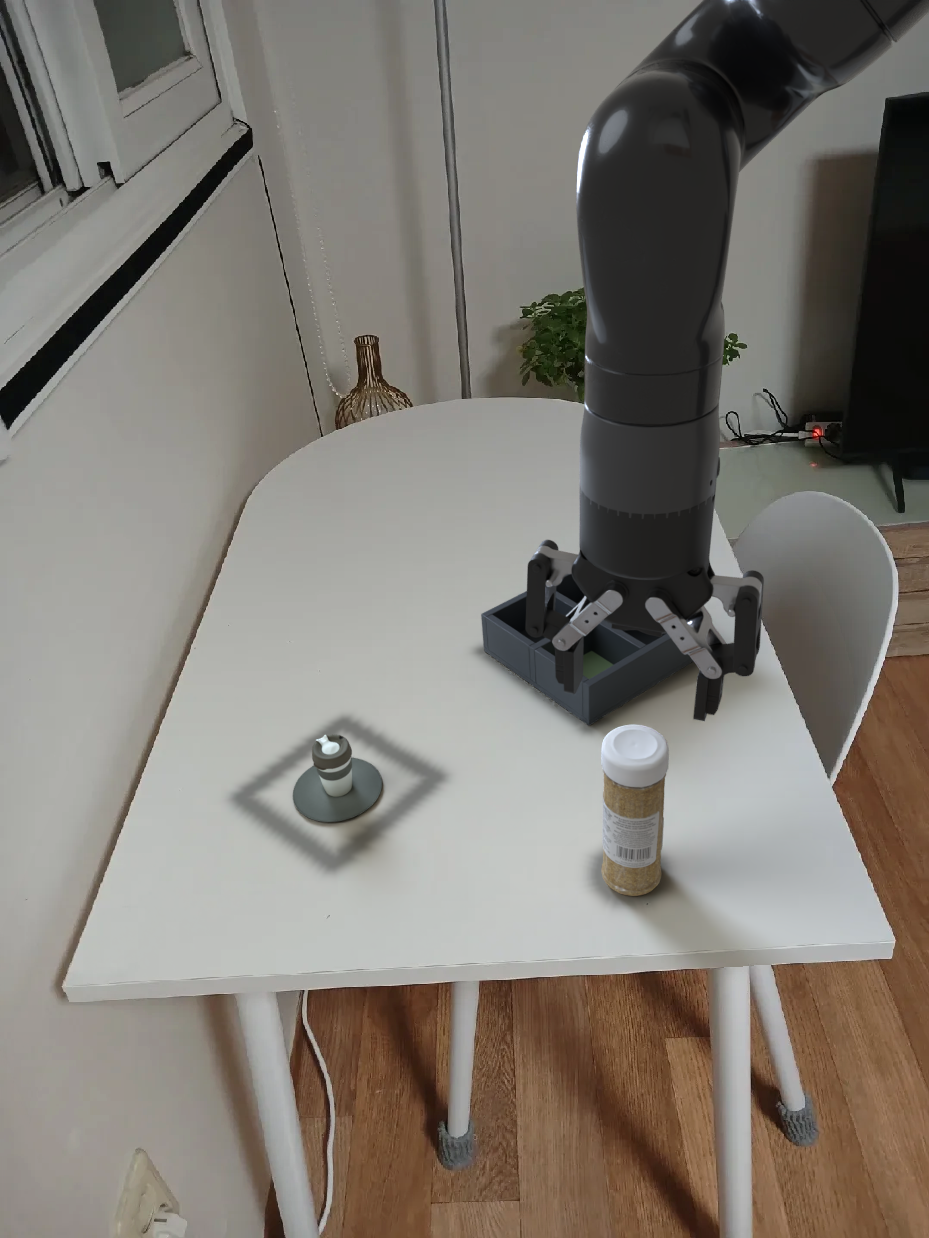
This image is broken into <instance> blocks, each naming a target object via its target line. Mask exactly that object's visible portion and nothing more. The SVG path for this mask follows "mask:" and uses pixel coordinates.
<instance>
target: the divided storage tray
mask: <svg viewBox="0 0 929 1238" xmlns="http://www.w3.org/2000/svg"><path fill="white" fill-rule="evenodd" d="M584 596H585V595H584V593H583V592H582V591H581V589H580V588H579V587H578V585H577V584H576V583H575V581H574V579H573V577H572V574H567V575H565V576H564V578H563V580H562V582H561V583H560V584H559V585H557V586H556V602H555V611H556V612H558V613H560V614H562V615H565V616H566V615H567V614H568V613H569V612H570V611H571V610H572V609H574V608H575V607H576V606H577V605H578V604H579V603H580V602H581V600H582V599H583V598H584ZM526 599H527V590H526V591H524V592H522V593H519V594H518V595H516V596H514V597H512V598H510V599H508V600H505V601H504V602H502V603H500V604H498V605H495V606H494V607H492V608H490V609H488V610H486V611H484V612H482V613H480V617H481V618H480V619H481V620H480V621H481V631H482V643H483V651H484V652H485V653H486V654H488V655H489V656H490V657H491V658H493V659H494V660H496V661H498V662H499V663H500V664H502V665H503V666H505V667H506V668H507V669H509V670H510V671H511V672H513V673H514V674H516V675H517V676H519V677H520V678H522V679H523V680H524V681H525V682H527V683H528V684H530V685H531V686H533V687H534V688H535V689H537V690H538V691H539V692H541V693H542V694H544V695H545V696H546V697H548V698H550V700H552V701H554V702H555V703H557V704H558V705H559V706H560V707H562V708H563V709H565V710H566V711H568V712H569V713H570V714H572V715H573V716H575V717H576V718H577V719H579V720H580V721H582V722H583V723H585V724H586V725H588V726H592V724H594V723H595V722H597V721H599V720H601V719H602V718H604V717H605V716H607V715H608V714H610V713H612V712H614V711H615V710H617V709H619V708H620V707H622V706H623V705H625V704H626V703H628V702H630V701H631V700H633V699H635V698H636V697H638V696H639V695H641V694H643V693H644V692H646V691H648V690H649V689H651V688H652V687H655V686H656V685H657V684H659V683H660V682H663V681H664V680H665V679H666V678H669V677H670V676H672V675H674V674H675V673H676V672H678V671H680V670H681V669H683V668H685V667H686V666H688V665H690V664H691V663H694V661H693V660H692V658H691V657H690V656H689V655H688V654H686V655H685V654H683V653H682V652H681V651H680V649H679V648H678V647H677V645H676V644H675V643H674V641H673V640H672V639H671V637H670V636H669V635H668V633H663V635H662V637H658V636H652V635H648V634H645V633H643V632H640V631H638V630H618V629H613V628H611V627H612V624H609V623H608V622H606V621H605V620H602V621H601V622H600V623H599V624H598V625H597V626H596V627H595V628H594V629H593V630H591V631H590V632H589V633H588V634H587V635H586V636H583V678H582V681H581V683H580V685H579V687H578V689H577V691H576V693H575V694H570V693H565V692H564V684H559V683H558V681H557V679H556V677H555V646H554V645H553V643H552V641H550V640H549V639H547V638H545V637H543V636H540V637H532V636H530V635H529V634H528V633H527V632H526ZM686 622H687V620H686Z"/></svg>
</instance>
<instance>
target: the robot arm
mask: <svg viewBox="0 0 929 1238" xmlns="http://www.w3.org/2000/svg"><path fill="white" fill-rule="evenodd" d="M928 15H929V0H702V1H700V2H699V3H698V5H696V6H695V7H694V9H692V11H690V12H689V13H688V14H687V15H686V16H685V17H684V18H683V19H682V20H681V21H680V22H679V23H678V24H677V25H676V26H675V27H674V28H673V29H672V30H671V31H670V32H669V33H668V34H667V35H666V36H665V38H663V39H662V40H661V41H660V42H659V43H658V44H657V46H655V48H653V50H651V52H649V54H648V55H646V56H645V57H644V59H642V60H641V61H640V62H639V64H638V65H636V67H634V68H633V69H632V70H631V71H630V73H628V75H626V77H625V78H623V79H622V81H620V83H618V85H617V86H615V88H614V89H613V90H612V91H611V92H610V93H608V95H607V96H606V97H605V98H604V99H603V100H602V101H601V103H600V104H599V105H598V107H597V108H596V109H595V110H594V112H593V114H592V115H591V117H590V118H589V121H588V122H587V124H586V127H585V129H584V132H583V135H582V138H581V141H580V146H579V150H578V155H577V163H576V164H577V165H576V179H575V182H576V183H575V190H576V191H575V204H576V205H575V206H576V208H575V209H576V226H577V227H576V229H577V239H578V249H579V257H580V268H581V275H582V285H583V291H584V297H585V303H586V311H587V313H586V327H585V335H584V336H585V339H584V403H583V405H584V406H583V415H582V422H581V427H580V435H579V490H578V491H579V492H578V493H579V499H578V500H579V521H578V522H579V533H578V535H579V538H578V539H579V542H578V544H579V545H578V548H579V552H578V554H577V553H572V552H567V551H562V550H559V545H558V544H557V543H556V542H555V541H553V540H551V539H544V540H543V541H541V543H540V544H539V546H538V547H537V548H536V550H535V552H534V553H533V555H532V556H531V558H530V560H529V561H528V562H527V571H526V575H527V576H526V591H527V599H526V632H527V633H528V634H529V635H530V636H532V637H540V636H543V637H545V638H547V639H549V640H550V641H552V643H553V645H554V646H555V677H556V679H557V681H558V683H559V684H564V692H565V693H570V694H575V693H576V691H577V689H578V687H579V685H580V683H581V681H582V678H583V636H586V635H587V634H588V633H589V632H590V631H591V630H593V629H594V628H595V627H596V626H597V625H598V624H599V623H600V622H601V621H602V620H605V621H606V622H608V623H609V624H612V627H611V628H613V629H618V630H638V631H640V632H643V633H645V634H648V635H652V636H658V637H662V635H663V633H668V635H669V636H670V637H671V639H672V640H673V641H674V643H675V644H676V645H677V647H678V648H679V649H680V651H681V652H682V653H683V654H685V655H686V654H688V655H689V656H690V657H691V658H692V660H693V663H694V664H695V665H696V666H697V668H698V669H699V671H698V672H697V673H698V674H697V677H696V687H695V698H694V709H693V716H692V717H693V720H695V721H700V722H706V720H707V716H708V715H711V716H715V714H716V713H717V712H718V710H719V707H720V703H721V700H722V697H723V689H724V683H725V676H726V675H729V674H732V673H733V674H734V673H735V674H736V675H737V676H740V677H742V678H743V677H745V678H746V677H750V676H751V675H752V674H753V673H754V671H755V668H756V660H757V656H758V654H759V653H760V649H761V633H762V632H761V631H762V619H763V618H762V617H763V603H764V586H765V585H764V583H765V579H764V578H765V577H764V576H763V574H762V573H761V572H760V571H758V570H748V571H745V572H744V574H743V575H742V577H738V576H737V577H736V576H726V575H725V576H724V575H716V573H715V572H714V570H713V568H712V565H711V561H710V560H711V559H710V553H711V542H712V532H713V525H714V514H715V513H714V512H715V503H716V492H717V481H718V480H717V479H718V478H719V476H720V471H721V457H720V451H721V450H720V447H721V430H720V397H721V396H720V395H721V385H722V375H723V364H724V352H725V350H724V349H725V348H724V347H725V334H726V333H725V332H726V329H725V309H724V305H723V301H722V300H723V299H722V298H723V293H724V286H725V279H726V272H727V266H728V259H729V251H730V244H731V243H730V242H731V236H732V230H733V229H732V227H733V221H734V213H735V207H736V206H735V205H736V200H737V199H736V198H737V191H738V184H739V175H740V173H741V171H742V170H743V169H744V168H745V167H746V166H747V165H748V164H749V163H750V162H751V161H752V160H753V159H754V158H755V157H756V156H757V155H759V153H760V152H761V151H762V150H763V149H764V148H766V147H767V146H768V145H769V144H770V143H771V142H772V141H773V140H774V139H776V137H777V136H779V134H780V133H782V131H784V130H785V129H786V128H787V127H788V126H789V125H790V124H791V123H792V122H793V121H794V120H795V119H797V118H798V117H799V115H801V114H802V113H803V112H804V111H805V110H806V109H807V108H808V107H810V105H812V104H813V102H815V100H817V99H818V98H819V97H821V96H823V94H826V93H828V92H830V91H832V90H835V89H838V88H840V87H842V86H844V85H846V84H847V83H849V82H851V81H852V80H853V79H855V78H856V77H858V76H859V75H860V74H862V73H863V72H864V71H865V70H867V69H868V68H870V66H872V65H873V64H874V63H875V62H877V61H878V60H880V58H881V57H883V56H884V54H886V53H887V52H888V51H889V50H890V49H892V48H893V46H894V44H893V42H894V43H899V41H901V39H903V38H904V37H905V36H906V35H907V34H909V32H910V31H912V30H913V28H915V27H916V26H917V25H918V24H919V23H920V22H921V21H922V20H924V18H926V17H927V16H928ZM567 574H572V577H573V579H574V581H575V583H576V584H577V585H578V587H579V588H580V589H581V591H582V592H583V593H584V595H585V596H584V598H583V599H582V600H581V602H580V603H579V604H578V605H577V606H576V607H575V608H574V609H572V610H571V611H570V612H569V613H568V614H567V615H566V616H565V615H562V614H560V613H558V612H556V611H555V602H556V586H557V585H559V584H560V583H561V582H562V580H563V578H564V576H565V575H567ZM712 597H713V598H716V599H718V600H719V602H721V603H722V608H723V610H724V612H725V613H726V614H727V616H728V617H730V618H734V629H733V630H734V631H733V642H729V643H728V642H727V641H726V640H725V639H724V638H723V636H722V635H721V634H720V632H719V631H718V630H717V628H716V627H715V626H714V623H713V618H712V615H711V614H710V612H709V610H707V608H706V606H705V605H706V604H708V602H709V601H710V600H711V599H712ZM686 620H687V622H686Z"/></svg>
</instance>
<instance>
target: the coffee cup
mask: <svg viewBox="0 0 929 1238" xmlns="http://www.w3.org/2000/svg"><path fill="white" fill-rule="evenodd" d="M352 755H353V750H352V746H351V744H350V742H349V740H348V739H347V738H346V737H345V736H344V735H341V734H324V735H323V736H322V737H321V738H318V739H317V738H316V739H315V742H314V743H313V745H312V748H311V759H312V762H313V763H312V764H313V765H312V766H310V767H309V768H308V769H306V770H305V771H304V772H303V773H302V774H301V775H300V776H299V777H298V779H297V780H296V782H295V784H294V786H293V790H292V801H293V804H294V806H295V808H296V810H297V811H298V812H299V813H300V814H302V815H303V816H304V817H306V818H308V819H310V820H313V821H317V822H323V823H336V822H341V821H342V822H343V821H347V820H350V819H353V818H355V817H357V816H359V815H361V814H363V813H365V812H366V811H367V810H368V809H370V808H372V806H373V805H374V804H375V803H376V802H377V800H378V798H379V796H380V794H381V792H382V789H383V779H382V776H381V773H380V772H379V770H378V769H377V767H376V766H374V765H373V764H372V763H370V762H368V761H367V760H364V759H361V758H359V757H352Z"/></svg>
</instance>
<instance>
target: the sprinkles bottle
mask: <svg viewBox="0 0 929 1238" xmlns="http://www.w3.org/2000/svg"><path fill="white" fill-rule="evenodd" d="M600 751H601V752H600V754H601V755H600V758H601V759H600V764H601V768H602V772H603V791H602V832H601V833H602V835H601V836H602V838H601V839H602V843H601V844H602V864H601V876H602V879H603V881H604V883H605V884H606V885H607V886H608V887H609V888H610V889H611V890H613V891H614V892H616V893H617V894H621V895H623V896H630V897H637V896H643V895H646V894H649V893H650V892H652V891H653V890H654V889H655V888H657V886H658V885H659V884H660V881H661V878H662V866H661V858H662V850H663V843H664V827H665V826H664V825H665V821H664V820H665V817H664V811H665V787H666V786H665V784H666V776H667V773H668V770H669V764H670V746H669V744H668V740H666V738H665V737H664V735H663V734H662V733H660V732H659V731H658V730H656V729H654V728H653V727H650V726H646V725H643V724H624V725H621V726H618V727H616V728H613V729H611V730H610V731H609V732H608V733H607V734H606V735H605V736H604V738H603V740H602V743H601V750H600Z"/></svg>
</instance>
